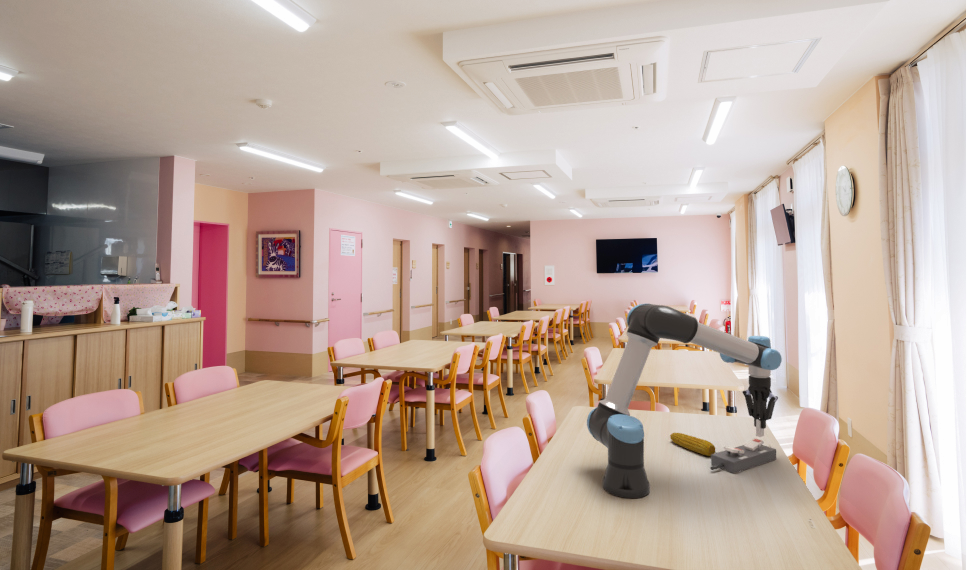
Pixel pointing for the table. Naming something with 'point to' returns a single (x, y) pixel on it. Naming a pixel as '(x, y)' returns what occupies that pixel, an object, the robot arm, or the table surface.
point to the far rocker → (753, 444)
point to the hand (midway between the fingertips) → (760, 435)
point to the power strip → (742, 458)
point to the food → (693, 443)
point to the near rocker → (734, 450)
